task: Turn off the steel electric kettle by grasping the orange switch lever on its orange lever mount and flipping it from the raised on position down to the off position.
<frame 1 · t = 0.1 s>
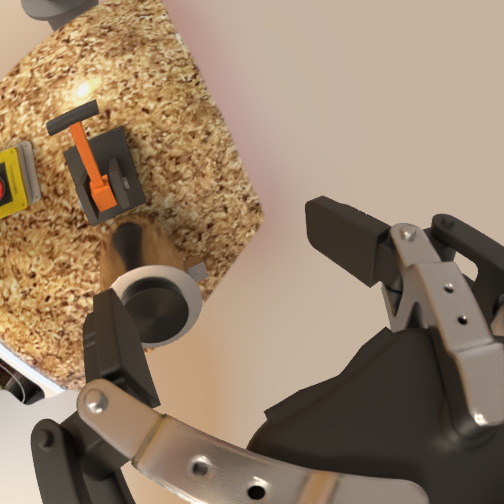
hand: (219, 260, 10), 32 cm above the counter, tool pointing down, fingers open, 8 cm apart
orange lever mount: (105, 176, 34), on the counter
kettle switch: (89, 161, 22), point 12 cm above the counter, hinge at 25.0°
kettle: (135, 249, 41), on the counter
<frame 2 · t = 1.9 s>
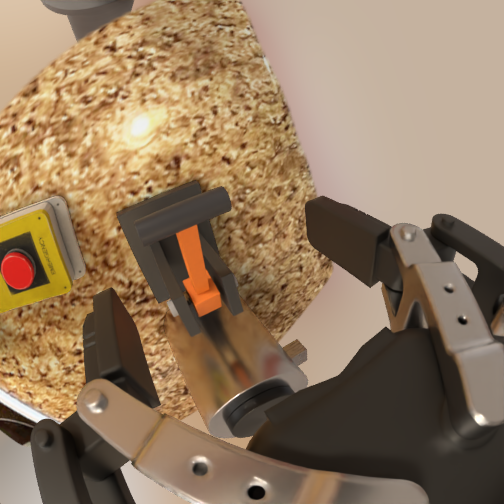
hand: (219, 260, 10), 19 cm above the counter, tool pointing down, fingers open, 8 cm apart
orange lever mount: (173, 243, 30), on the counter
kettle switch: (195, 266, 18), point 12 cm above the counter, hinge at 25.0°
kettle: (204, 319, 37), on the counter
emergency button: (19, 253, 21), on the counter
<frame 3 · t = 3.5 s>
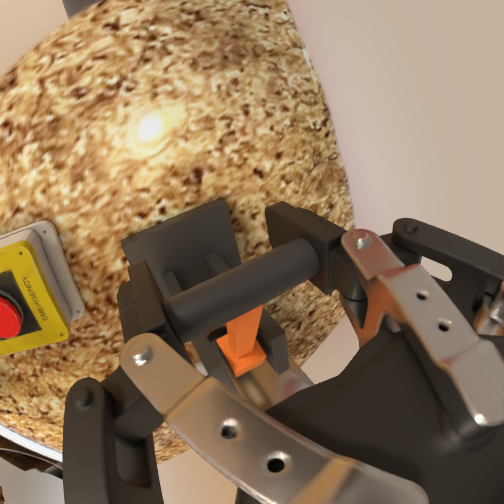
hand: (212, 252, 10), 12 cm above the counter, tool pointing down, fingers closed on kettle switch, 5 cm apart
orange lever mount: (192, 275, 25), on the counter
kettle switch: (241, 333, 13), point 12 cm above the counter, hinge at 24.9°, touching gripper
kettle: (225, 353, 32), on the counter
emergency button: (3, 289, 15), on the counter
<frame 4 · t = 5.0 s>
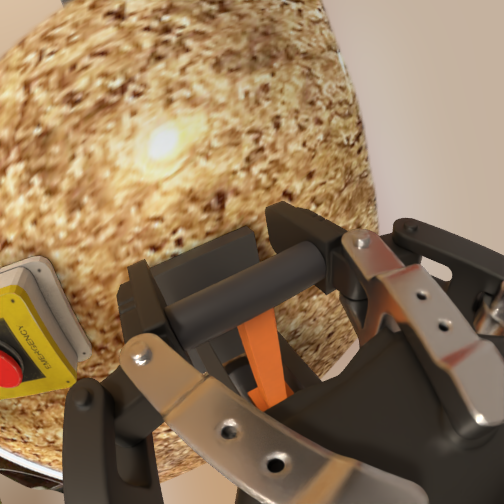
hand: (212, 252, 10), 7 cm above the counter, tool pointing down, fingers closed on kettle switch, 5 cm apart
orange lever mount: (211, 309, 22), on the counter
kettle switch: (267, 373, 11), point 10 cm above the counter, hinge at 1.4°, touching gripper
kettle: (242, 381, 29), on the counter
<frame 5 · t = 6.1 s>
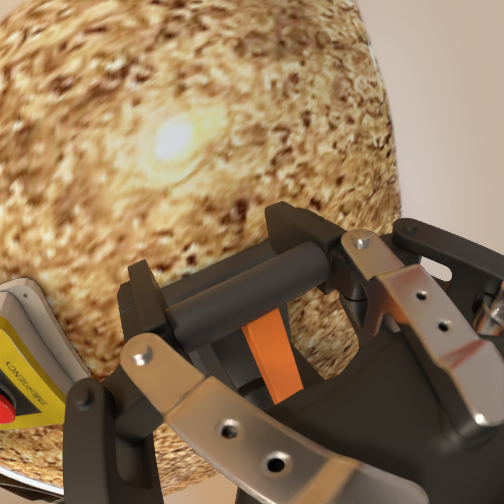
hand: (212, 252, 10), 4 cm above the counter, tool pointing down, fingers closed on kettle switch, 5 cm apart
orange lever mount: (226, 332, 19), on the counter
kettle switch: (289, 400, 10), point 9 cm above the counter, hinge at -16.6°, touching gripper
kettle: (255, 401, 26), on the counter
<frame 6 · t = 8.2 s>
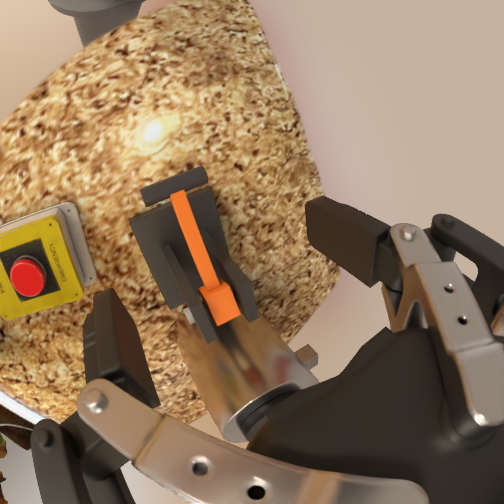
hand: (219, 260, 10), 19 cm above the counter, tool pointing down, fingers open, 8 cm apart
orange lever mount: (185, 249, 30), on the counter
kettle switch: (198, 250, 21), point 9 cm above the counter, hinge at -16.9°
kettle: (214, 324, 37), on the counter
emergency button: (28, 259, 21), on the counter
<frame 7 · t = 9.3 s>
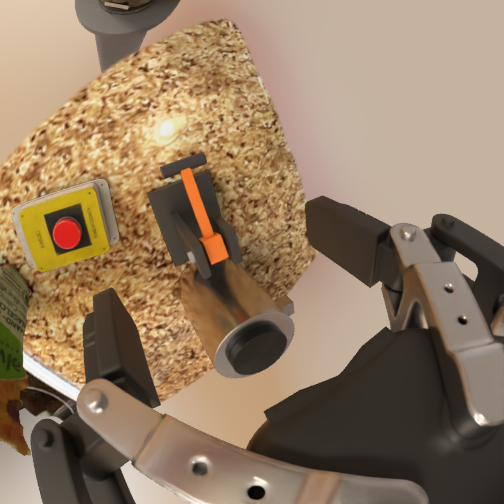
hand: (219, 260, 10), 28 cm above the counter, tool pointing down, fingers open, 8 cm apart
orange lever mount: (188, 218, 39), on the counter
pouch: (5, 287, 28), on the counter
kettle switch: (199, 210, 30), point 9 cm above the counter, hinge at -16.9°
kettle: (211, 284, 46), on the counter
emergency button: (64, 223, 30), on the counter
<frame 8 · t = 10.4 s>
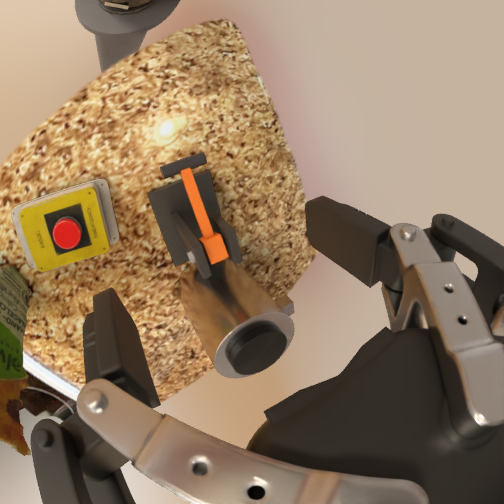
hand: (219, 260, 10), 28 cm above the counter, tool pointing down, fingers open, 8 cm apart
orange lever mount: (188, 218, 39), on the counter
pouch: (5, 287, 28), on the counter
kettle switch: (199, 210, 30), point 9 cm above the counter, hinge at -16.9°
kettle: (211, 284, 46), on the counter
emergency button: (64, 223, 30), on the counter
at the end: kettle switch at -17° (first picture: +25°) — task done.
